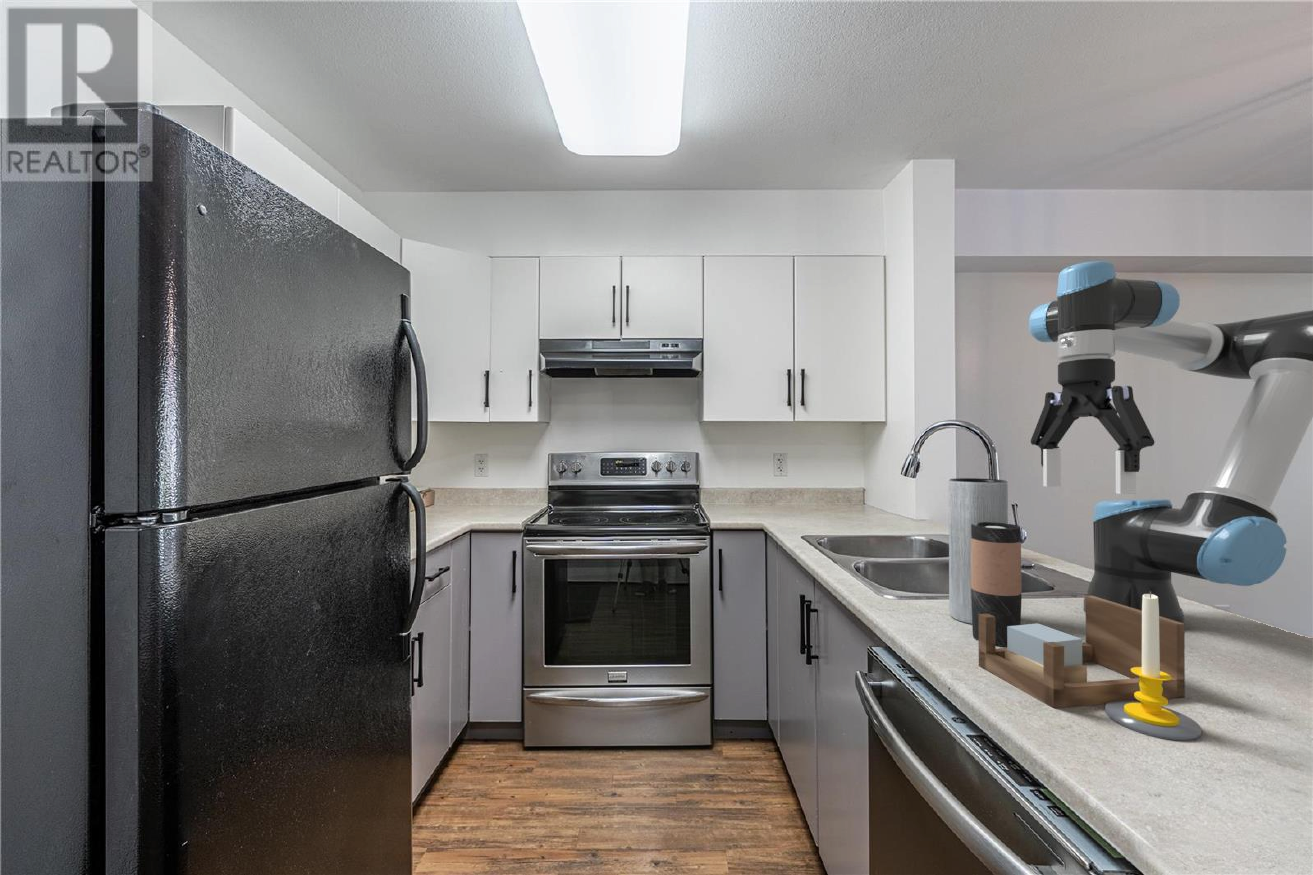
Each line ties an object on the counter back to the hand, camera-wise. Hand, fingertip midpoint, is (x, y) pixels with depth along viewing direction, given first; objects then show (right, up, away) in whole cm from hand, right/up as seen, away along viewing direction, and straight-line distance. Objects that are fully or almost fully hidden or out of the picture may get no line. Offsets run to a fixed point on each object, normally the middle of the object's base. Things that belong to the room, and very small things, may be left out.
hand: (1086, 490), depth 94 cm
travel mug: (-11, -27, +6) cm, 30 cm away
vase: (-8, -27, +18) cm, 33 cm away
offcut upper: (-14, -23, -11) cm, 29 cm away
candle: (-9, -26, -22) cm, 36 cm away
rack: (-10, -27, -11) cm, 30 cm away
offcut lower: (-14, -27, -11) cm, 33 cm away
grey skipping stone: (-9, -27, -23) cm, 36 cm away
